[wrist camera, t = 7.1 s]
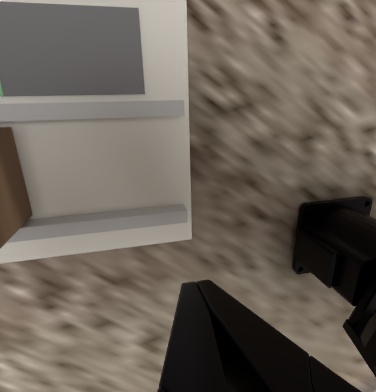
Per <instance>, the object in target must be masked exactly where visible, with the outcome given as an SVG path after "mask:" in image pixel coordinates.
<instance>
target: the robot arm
mask: <svg viewBox="0 0 376 392" xmlns="http://www.w3.org/2000/svg"><path fill="white" fill-rule="evenodd" d="M371 206H372V199H370V198H368V197H356V198H347V199H338V200H329V201H319V202H310V203H304V204H303V205H302V206H301V207H300V213H299V220H298V228H297V234H296V242H295V250H294V260H293V270H294V272H295V273H297V274H304V273H310V272H311V273H312V274H314V275H315V276H316V277H317V278H318V279H319V280H320V281H321V282H322V283H324V284H325V285H326V286H327V287H328V288H331V287H332V288H333V289H334V290H336V291H337V292H338V293H339V294H340V295H341V296H342V297H344V298H345V299H346V300H347V301H348V302H349V303H350V304H351V305H353V306H356V307H355V309H354V310H353V312H352V314H351V315H350V317H349V319H346V321H345V322H344V324H343V328H344V329H345V331H346V333H347V334H348V336H349V337H350V339H351V340H352V342H353V343H354V345H355V346H356V348H357V349H358V351H359V352H360V354H361V355H362V357H363V358H364V360H365V362H366V363H367V365H368V366H369V368H370V369H371V371H372V372H373V374H374V375H375V377H376V219H375V218H373V217H371V216H369V215H370V210H371ZM307 208H308V210H307V211H306V209H307ZM299 267H300V268H299ZM298 268H299V269H298ZM157 392H361V391H360V390H358V389H357V388H355V387H354V386H352V385H351V384H349V383H348V382H347V381H345V380H344V379H343V378H341V377H340V376H338V375H337V374H336V373H334V372H333V371H331V370H330V369H329V368H327V367H326V366H324V365H323V364H322V363H320V362H319V361H318V360H316V359H315V358H314V357H312V356H310V357H309V354H308V353H307V352H306V351H304V350H303V349H302V348H300V347H299V346H298V345H296V344H295V343H294V342H292V341H291V340H290V339H288V338H287V337H286V336H284V335H283V334H282V333H280V332H279V331H277V330H276V329H275V328H273V327H272V326H271V325H269V324H268V323H267V322H265V321H264V320H263V319H261V318H260V317H259V316H257V315H256V314H255V313H253V312H252V311H251V310H249V309H248V308H247V307H245V306H244V305H243V304H241V303H240V302H239V301H237V300H236V299H235V298H233V297H232V296H231V295H229V294H228V293H227V292H225V291H224V290H223V289H221V288H220V287H219V286H217V285H216V284H215V283H213V282H212V281H211V280H202V281H197V282H187V283H183V284H182V286H181V290H180V294H179V299H178V303H177V308H176V312H175V317H174V321H173V326H172V330H171V334H170V339H169V343H168V348H167V352H166V357H165V361H164V365H163V370H162V374H161V379H160V383H159V389H158V391H157Z"/></svg>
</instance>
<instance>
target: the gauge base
mask: <svg viewBox="0 0 376 392" xmlns="http://www.w3.org/2000/svg"><path fill="white" fill-rule="evenodd" d="M0 127H11V128H12V132H13V136H14V140H15V145H16V149H17V153H18V157H19V161H20V165H21V169H22V173H23V177H24V181H25V185H26V189H27V194H28V198H29V202H30V206H31V210H32V214H33V215H32V216H31V217H30V218H29V219H28V220H27V221H26V222H25V223H24V224H23V226H22V227H21V228H20V229H19V230H18V231H17V232H16V233H15V234H14V235H13V236H12V237H11V238H10V239H9V240H8V241H7V242H6V243H5V244H4V246H3V247H2V248H1V249H0V264H1V263H9V262H16V261H24V260H32V259H40V258H48V257H56V256H64V255H72V254H80V253H88V252H96V251H103V250H111V249H119V248H127V247H135V246H143V245H151V244H159V243H167V242H175V241H182V240H190V239H192V221H191V179H190V136H189V94H188V52H187V9H186V0H0Z"/></svg>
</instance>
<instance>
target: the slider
mask: <svg viewBox="0 0 376 392" xmlns="http://www.w3.org/2000/svg"><path fill="white" fill-rule="evenodd" d="M32 215H33V214H32V210H31V206H30V202H29V198H28V194H27V189H26V185H25V181H24V177H23V173H22V169H21V165H20V161H19V157H18V153H17V149H16V145H15V140H14V136H13V132H12V128H11V127H0V249H1V248H2V247H3V246H4V244H5V243H6V242H7V241H8V240H9V239H10V238H11V237H12V236H13V235H14V234H15V233H16V232H17V231H18V230H19V229H20V228H21V227H22V226H23V224H24V223H25V222H26V221H27V220H28V219H29V218H30V217H31V216H32Z"/></svg>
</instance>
